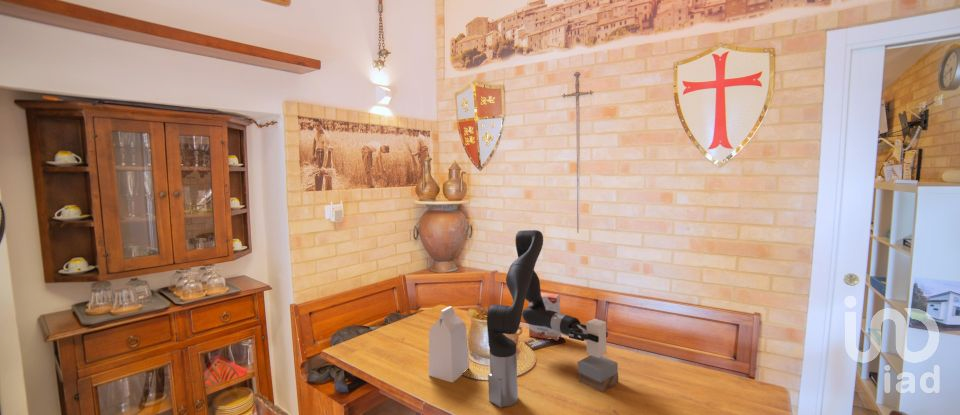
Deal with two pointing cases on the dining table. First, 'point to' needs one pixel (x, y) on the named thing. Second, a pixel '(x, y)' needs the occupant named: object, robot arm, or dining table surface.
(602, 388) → the tower base
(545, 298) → the cracker box
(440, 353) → the milk
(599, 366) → the tower top
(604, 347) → the cream block
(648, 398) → the dining table surface
